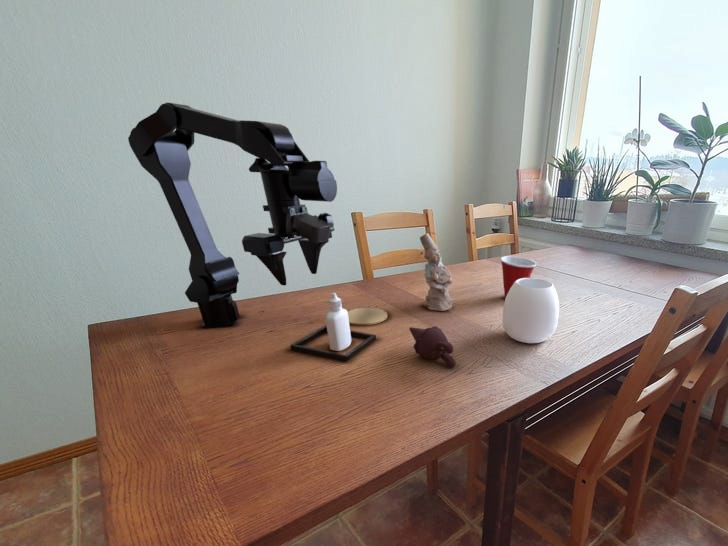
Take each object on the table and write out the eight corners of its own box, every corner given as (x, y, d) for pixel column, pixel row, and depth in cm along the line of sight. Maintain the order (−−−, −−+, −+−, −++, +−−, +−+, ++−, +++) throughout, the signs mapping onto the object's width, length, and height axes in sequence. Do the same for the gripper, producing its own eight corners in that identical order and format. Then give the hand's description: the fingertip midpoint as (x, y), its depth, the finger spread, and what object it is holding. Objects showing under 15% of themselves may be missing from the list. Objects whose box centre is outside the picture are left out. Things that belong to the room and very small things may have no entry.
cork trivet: (343, 326, 90) (343, 325, 90) (343, 310, 99) (342, 308, 99) (389, 323, 94) (389, 321, 93) (385, 308, 103) (385, 306, 102)
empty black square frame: (291, 350, 79) (290, 345, 78) (325, 330, 88) (325, 325, 88) (346, 361, 75) (345, 356, 75) (376, 339, 85) (375, 334, 85)
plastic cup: (534, 305, 111) (539, 265, 105) (497, 303, 111) (501, 263, 105) (530, 293, 121) (534, 256, 115) (497, 291, 120) (499, 254, 115)
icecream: (392, 322, 78) (436, 354, 70) (420, 307, 82) (465, 336, 73) (399, 348, 83) (441, 380, 74) (426, 332, 86) (468, 362, 78)
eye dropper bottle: (323, 346, 81) (315, 293, 75) (346, 339, 85) (340, 287, 79) (335, 353, 78) (326, 299, 73) (358, 345, 82) (352, 292, 77)
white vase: (565, 337, 92) (574, 284, 85) (533, 354, 83) (541, 296, 76) (522, 321, 99) (528, 271, 93) (489, 335, 90) (493, 281, 84)
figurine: (416, 304, 106) (414, 231, 97) (441, 299, 111) (441, 229, 102) (434, 314, 100) (434, 238, 91) (459, 308, 105) (461, 235, 96)
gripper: (282, 206, 62) (301, 296, 69) (348, 197, 78) (357, 272, 85) (228, 202, 64) (252, 290, 72) (302, 195, 80) (316, 267, 88)
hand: (299, 279), depth 79 cm, fingers open, 9 cm apart
